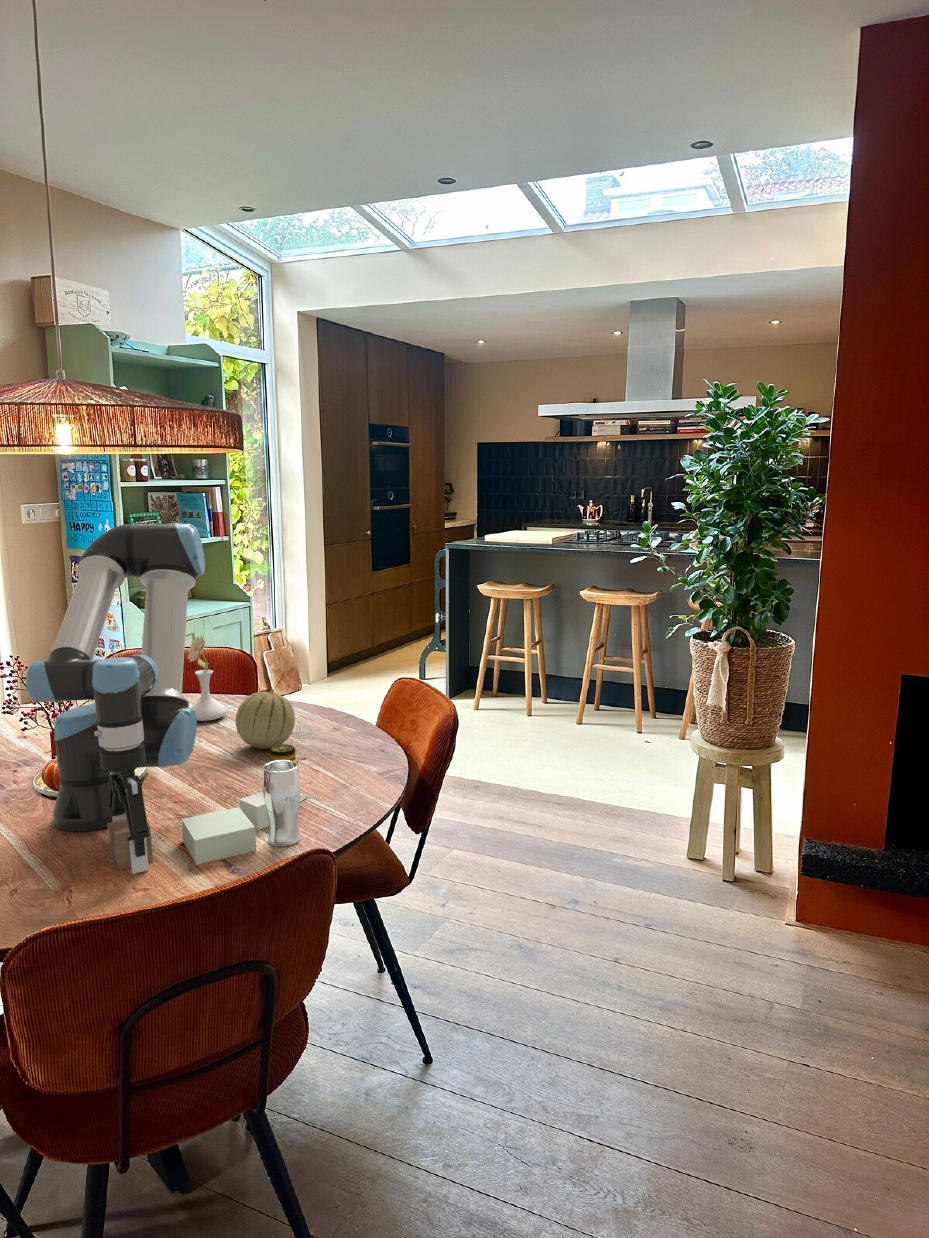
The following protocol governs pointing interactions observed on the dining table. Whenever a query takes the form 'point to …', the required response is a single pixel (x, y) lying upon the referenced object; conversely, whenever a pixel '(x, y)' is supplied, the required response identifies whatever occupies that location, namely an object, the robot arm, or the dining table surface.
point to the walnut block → (123, 844)
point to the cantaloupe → (265, 720)
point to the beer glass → (282, 801)
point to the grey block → (255, 810)
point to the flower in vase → (204, 686)
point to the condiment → (284, 756)
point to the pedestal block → (218, 835)
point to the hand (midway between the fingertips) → (131, 859)
